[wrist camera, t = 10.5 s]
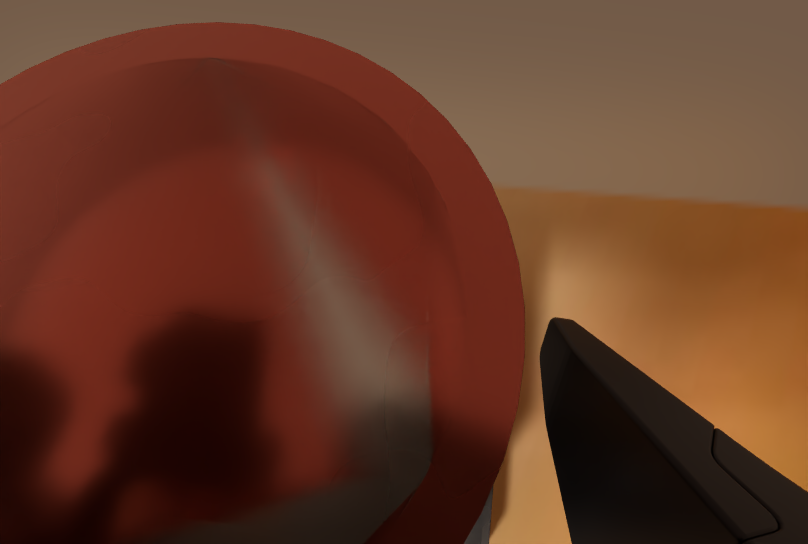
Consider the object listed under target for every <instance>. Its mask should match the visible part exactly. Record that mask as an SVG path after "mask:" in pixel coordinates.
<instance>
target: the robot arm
mask: <svg viewBox="0 0 808 544" xmlns="http://www.w3.org/2000/svg"><path fill="white" fill-rule="evenodd" d="M540 368H541V379H542V390H543V401H544V412H545V421H546V427H547V432H548V437H549V442H550V446H551V451H552V456H553V460H554V465H555V469H556V474H557V478H558V483H559V487H560V492H561V496H562V501H563V505H564V510H565V514H566V519H567V524H568V528H569V533H570V537H571V542H572V544H808V492H807V491H805V490H804V489H802V488H801V487H800V486H798V485H797V484H795V483H794V482H792V481H791V480H789V479H788V478H786V477H785V476H783V475H782V474H781V473H779V472H778V471H776V470H775V469H773V468H772V467H770V466H769V465H768V464H766V463H765V462H763V461H762V460H761V459H759V458H758V457H756V456H755V455H754V454H752V453H751V452H750V451H748V450H747V449H745V448H744V447H743V446H741V445H740V444H739V443H737V442H736V441H734V440H733V439H732V438H731V437H729V436H728V435H727V434H725V433H724V432H723V431H721V430H720V429H718V428H715V429H714V425H713V424H712V423H710V422H709V421H708V420H706V419H705V418H704V417H702V416H701V415H700V414H698V413H697V412H696V411H694V410H693V409H691V408H690V407H689V406H687V405H686V404H685V403H683V402H682V401H681V400H679V399H678V398H677V397H675V396H674V395H673V394H671V393H670V392H669V391H667V390H666V389H665V388H663V387H662V386H661V385H659V384H658V383H657V382H655V381H654V380H653V379H651V378H650V377H649V376H647V375H646V374H644V373H643V372H642V371H640V370H639V369H638V368H636V367H635V366H634V365H632V364H631V363H630V362H628V361H627V360H626V359H624V358H623V357H622V356H620V355H619V354H618V353H616V352H615V351H614V350H612V349H611V348H610V347H608V346H607V345H606V344H604V343H603V342H602V341H600V340H599V339H598V338H596V337H595V336H593V335H592V334H591V333H589V332H588V331H587V330H585V329H584V328H583V327H581V326H580V325H579V324H577V323H576V322H575V321H573V320H571V319H564V318H557V317H555V318H552V319H551V320H550V322H549V324H548V327H547V331H546V334H545V337H544V341H543V344H542V347H541V351H540Z"/></svg>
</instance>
